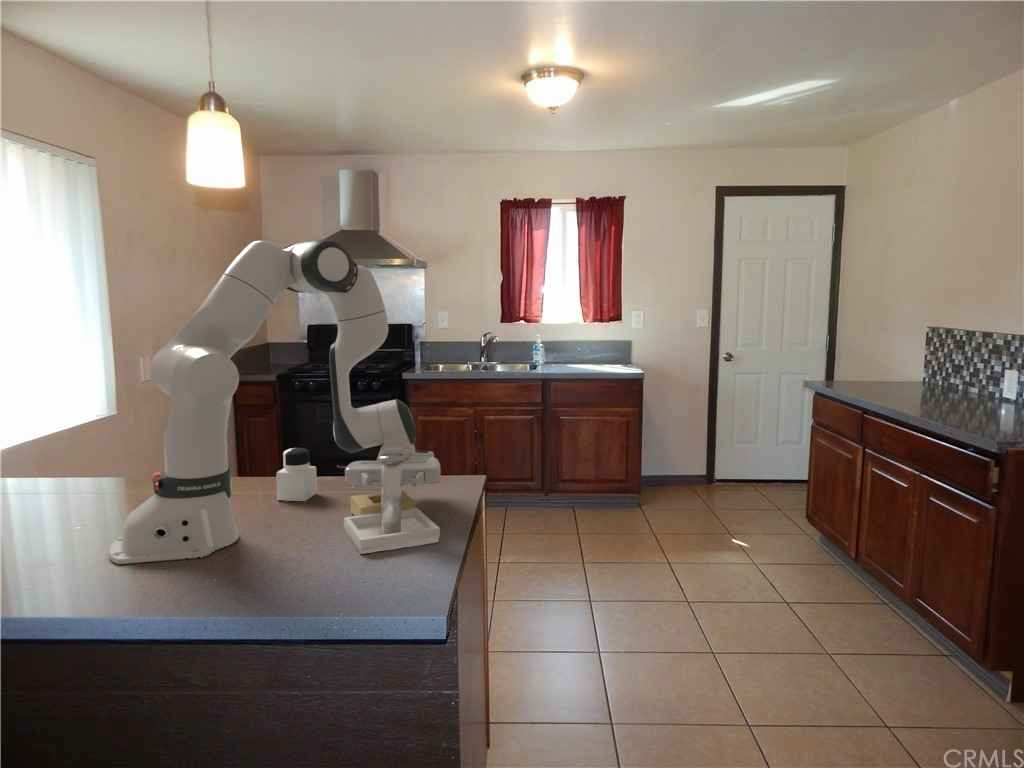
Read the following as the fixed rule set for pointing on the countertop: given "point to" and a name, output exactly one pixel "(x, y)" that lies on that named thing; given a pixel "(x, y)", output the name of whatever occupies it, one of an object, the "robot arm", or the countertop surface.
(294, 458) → the medicine bottle
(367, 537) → the tray
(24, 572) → the countertop surface
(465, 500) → the countertop surface
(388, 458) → the steel pin
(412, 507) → the block
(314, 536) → the countertop surface
